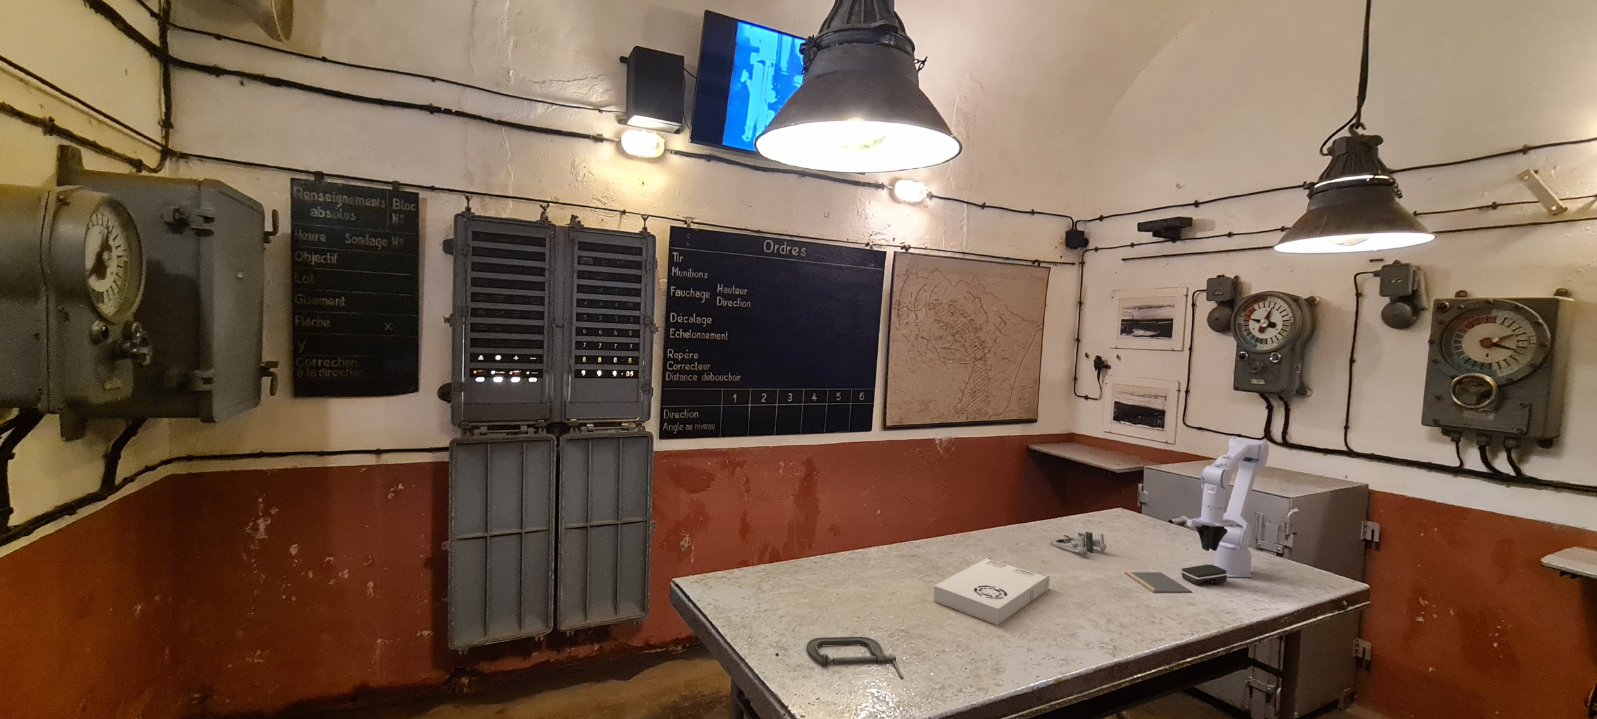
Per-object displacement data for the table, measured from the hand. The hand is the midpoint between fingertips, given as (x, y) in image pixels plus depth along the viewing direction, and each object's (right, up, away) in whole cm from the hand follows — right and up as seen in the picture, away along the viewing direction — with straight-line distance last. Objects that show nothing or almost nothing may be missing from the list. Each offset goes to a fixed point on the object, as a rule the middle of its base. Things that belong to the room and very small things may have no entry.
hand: (1209, 549), depth 198 cm
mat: (-16, -10, -1) cm, 19 cm away
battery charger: (-6, -9, +1) cm, 11 cm away
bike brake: (-30, -8, +28) cm, 42 cm away
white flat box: (-70, -10, -14) cm, 72 cm away
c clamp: (-113, -10, -51) cm, 125 cm away
